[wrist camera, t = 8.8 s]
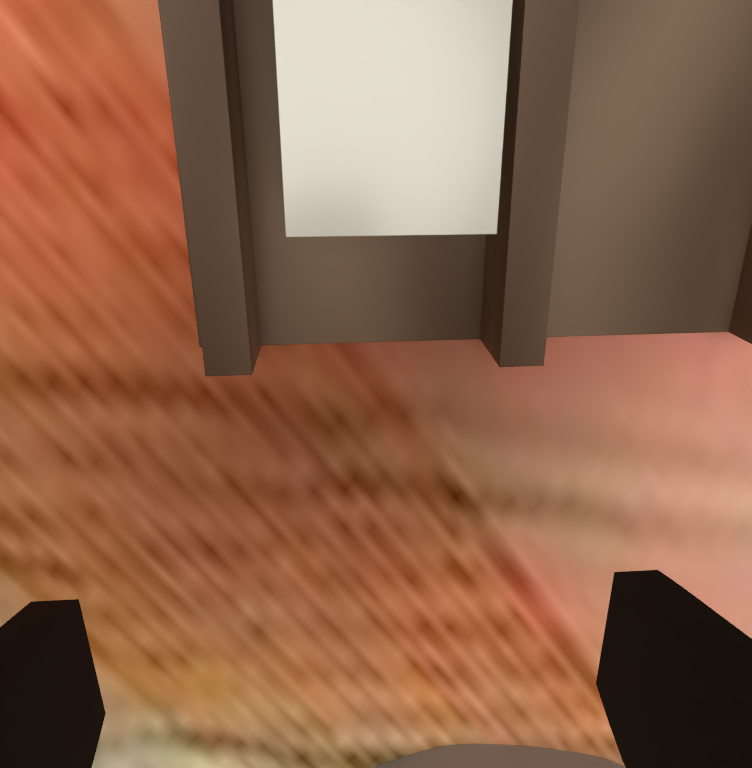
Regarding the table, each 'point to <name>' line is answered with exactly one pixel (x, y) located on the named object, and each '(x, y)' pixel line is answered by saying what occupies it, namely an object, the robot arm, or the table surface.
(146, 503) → the table surface
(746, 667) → the robot arm
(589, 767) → the lumpy-topped squat cylinder
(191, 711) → the table surface
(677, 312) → the rack
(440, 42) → the white rectangular block
